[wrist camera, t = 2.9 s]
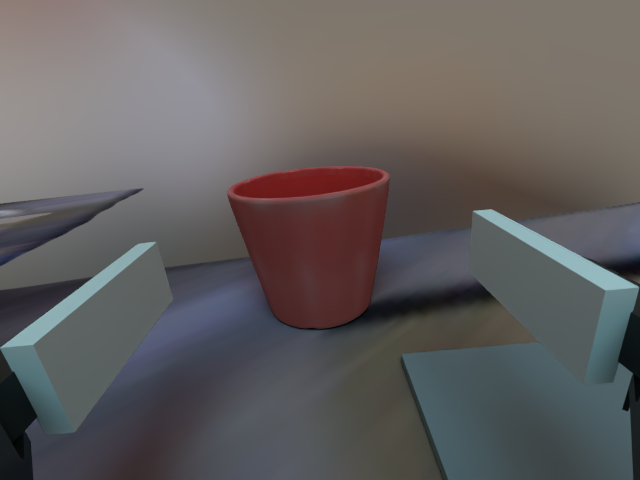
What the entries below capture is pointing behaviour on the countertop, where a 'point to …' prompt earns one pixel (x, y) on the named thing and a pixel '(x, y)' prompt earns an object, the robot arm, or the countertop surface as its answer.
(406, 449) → the countertop surface
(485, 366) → the slate coaster
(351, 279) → the flower pot
